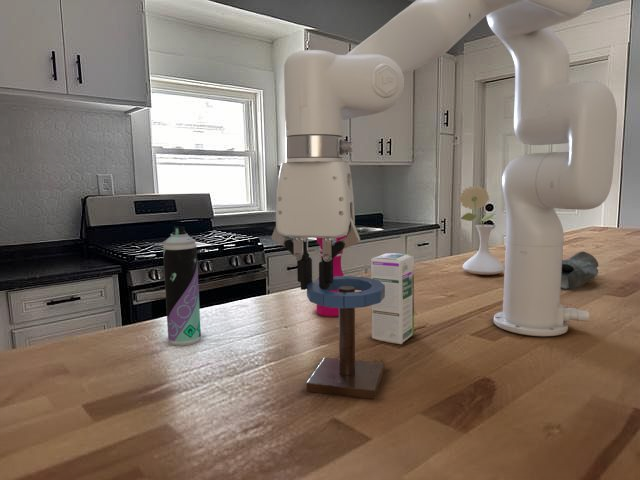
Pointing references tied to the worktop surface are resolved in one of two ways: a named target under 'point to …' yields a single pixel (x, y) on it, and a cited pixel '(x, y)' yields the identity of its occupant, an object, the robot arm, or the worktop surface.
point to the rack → (346, 364)
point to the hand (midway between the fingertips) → (315, 287)
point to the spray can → (181, 288)
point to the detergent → (578, 270)
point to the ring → (367, 296)
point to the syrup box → (394, 297)
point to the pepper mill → (336, 272)
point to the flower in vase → (480, 234)
